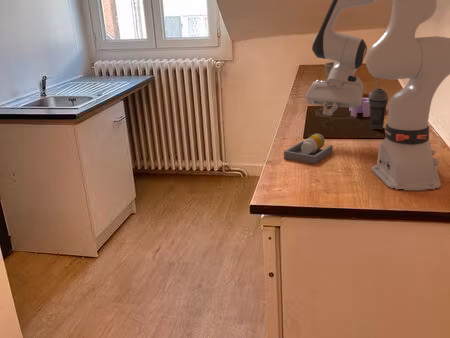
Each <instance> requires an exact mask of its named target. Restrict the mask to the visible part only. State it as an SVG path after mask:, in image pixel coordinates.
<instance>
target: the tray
mask: <svg viewBox="0 0 450 338" xmlns="http://www.w3.org/2000/svg"><path fill="white" fill-rule="evenodd" d="M304 141H305V140H302V141H300V142H298V143H296V144H295V145H292V146H291V147H289V148H288V149H285V150H284V151H283V159H287V160H291V161H297V162H302V163H308V164H313V165H317V164H318V163H319V162H320V161H322V160H324V159H325V158H326V157H328V156H330V154H332V153H333V152H334V151H333V148H334V146H333V145H332V144H330V145H329V146H327V147H325V148H324V149H322V148H320V149H319V150H317V151H316V152H315V153H313V154H304V153H303V152H302V150H301V146H302V144H303V142H304Z"/></svg>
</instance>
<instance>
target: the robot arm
mask: <svg viewBox="0 0 450 338" xmlns="http://www.w3.org/2000/svg"><path fill="white" fill-rule="evenodd" d="M377 1H378V0H332V1H331V3H330V6H329V7H328V10H327V12H326V15H325V17H324V19H323V21H322V23H321V25H320V28H319V30H318V31H317V33H316V34H315V36H314V38H313V41H312V46H311V50H312V53H313V54H314V55H315V56H316V58H319V59H325V60H330V61H332V62H334V66H333V68H332V69H331V71H330V73H329V76H328V78H327V77H326V80H316V81H313V82H312V83H311V85H310V87H309V88H308V91H307V92H306V95H305V99H306V102H307V103H308V104H310V105H321V106H322V107H323V111H322V114H323V116H329V117H333V116H332V115H333V113H334V112H336V111H337V110H338V108H339V107H340V108H341V107H342V108H349V107H350V108H358V107H359V106H360V105H361V102H362V98H364V93H363V92H364V89H365V88H364V84H363V81H362V80H361V78H360V77H357V76H355V73H356V72H357V71H358V69H359V68H360V67H361V66H362V65H363V62H364V59H365V66H366V69H367V71H368V72H369V74H370V75H371V76H372V77H373V78H375V79H377V78H379V79H380V80H381V79H382V80H389V81H391V80H392V81H394V80H407V79H409V80H408V82H407V83H406V85H405V86H404V87H403V88H402V89H400V90H398V91H397V92H396V93H394V94H393V95H392V96H391V98H389V100H388V101H389V102H388V113H387V122H386V124H385V128H384V136H385V138H384V139H383V140H382V141H381V142H380V143H379V146H378V151H377V152H378V153H377V163H376V164H374V165H372V166H371V171H372V172H373V174H374V175H375V176H377V178H378V179H380V181H382V182H383V183H384V184H385V185H386V186H387V187H388V188H389V187H390V189H393V188H395V189H394V190H398V189H404V190H403V191H427V190H426V189H433V190H436V189H435V188H438V189H440V188H441V185H442V183H441V179H440V177H439V173H438V169H437V167H438V166H439V161H440V160H439V158H438V157H434V158H433V156H434V155H436V154H435V152H436V151H435V150H433V149H432V142H431V141H430V133H431V131H430V126H429V118H430V117H429V116H430V110H431V105H432V101H433V98H434V95H435V93H436V91H437V90H438V88H439V86H440V85H441V84H442V83H443V81H445V79H446V78H447V77H448V76H449V75H450V37H446V36H445V37H444V36H439V35H437V36H436V35H435V36H423V37H416V32H417V30H418V27H419V26H420V25H421V24H423V23H425V22H427V21H429V19H431V18H432V17H433V16H434V14H435V12H436V10H437V1H438V0H392V2H391V3H392V4H391V15H390V20H389V23H388V25H387V27H386V29H385V31H384V32H383V33H382V35H381V36H380V37H379V38H378V39H377V40H376V41H375V42H374V43H373V44H372V45H371V46H370V47H369V49H368V45H367V44H366V42H365V40H364V39H363V38H360V37H358V36H355V35H350V34H345V33H341V32H338V31H335V30H334V26H335V25H336V22H337V21H338V17H339V15H340V13H341V12H342V11H343V10H346V9H349V8H354V7H362V6H368V5H371V4H374V3H375V2H377ZM365 56H366V57H365ZM329 106H331V108H329ZM439 187H440V188H439ZM423 189H425V190H423Z"/></svg>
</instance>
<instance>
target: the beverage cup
mask: <svg viewBox="0 0 450 338" xmlns="http://www.w3.org/2000/svg"><path fill="white" fill-rule="evenodd" d="M379 79H380V78H376V80H377V81H376V83H377V85H376V89H374V90H372V91H371V92H370V93H371V94H370V96H369V95H368V98H369V99H368V100H369V105H370V117H369V124H370V129H371V130H373V129H381V130H383V129H382V128H383V126H384V123H385V118H386V117H385V116H386V111H387V105H388V103H389V102H388V101H389V96H388V93H387V92H386V90H384V89H381V88H379V86H380V85H379Z"/></svg>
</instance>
